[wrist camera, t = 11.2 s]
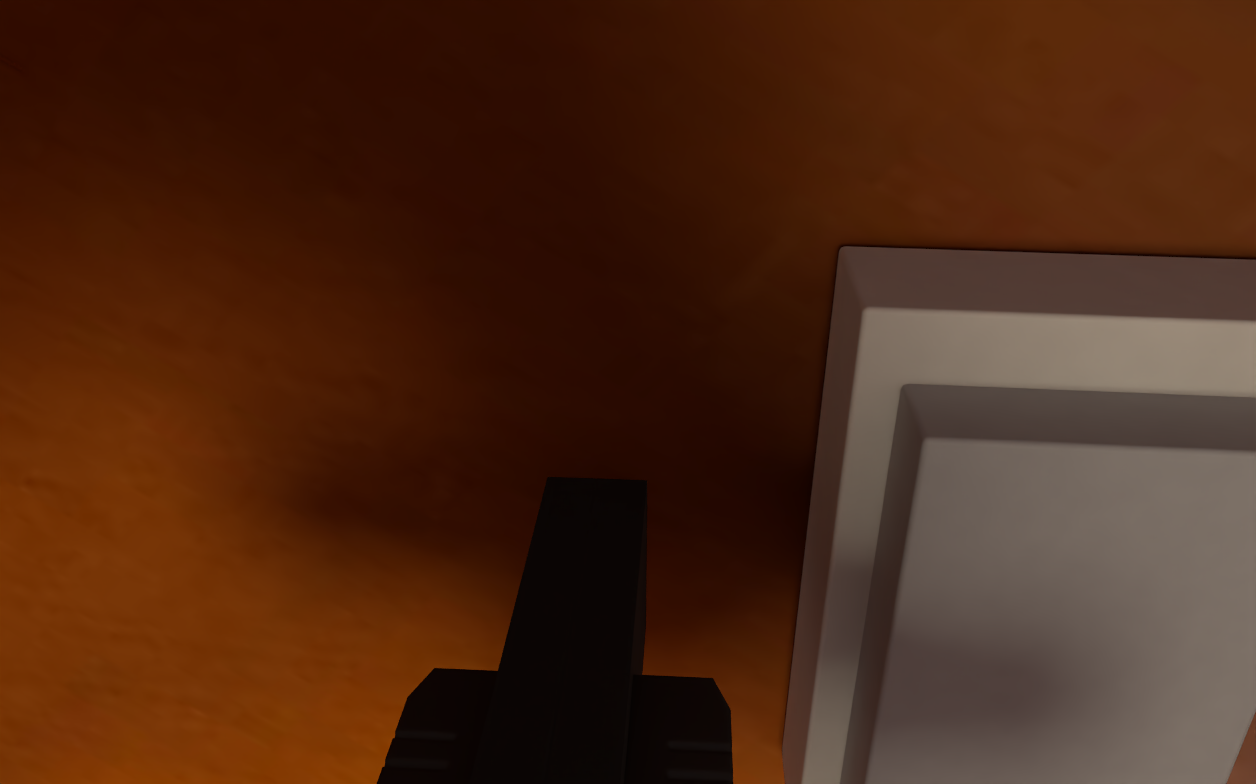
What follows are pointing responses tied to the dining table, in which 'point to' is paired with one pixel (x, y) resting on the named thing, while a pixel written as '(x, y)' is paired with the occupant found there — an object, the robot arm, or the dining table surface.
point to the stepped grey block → (1030, 523)
